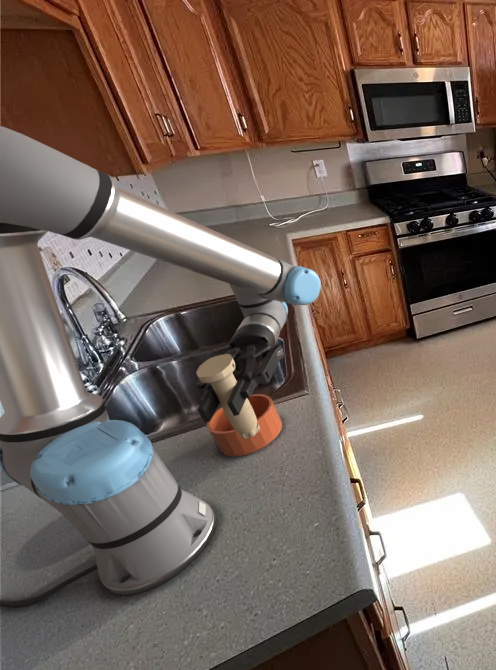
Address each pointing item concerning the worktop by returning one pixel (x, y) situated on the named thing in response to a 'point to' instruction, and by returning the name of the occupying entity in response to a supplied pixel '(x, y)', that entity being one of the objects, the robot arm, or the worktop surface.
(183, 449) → the worktop surface
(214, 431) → the crock
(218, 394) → the handle
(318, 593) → the worktop surface
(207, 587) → the worktop surface
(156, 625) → the worktop surface
